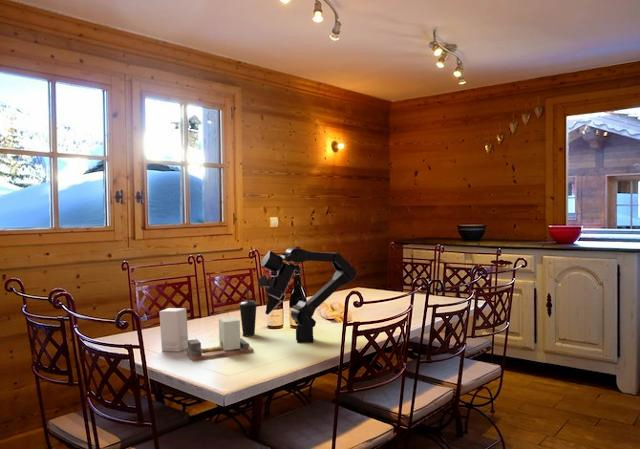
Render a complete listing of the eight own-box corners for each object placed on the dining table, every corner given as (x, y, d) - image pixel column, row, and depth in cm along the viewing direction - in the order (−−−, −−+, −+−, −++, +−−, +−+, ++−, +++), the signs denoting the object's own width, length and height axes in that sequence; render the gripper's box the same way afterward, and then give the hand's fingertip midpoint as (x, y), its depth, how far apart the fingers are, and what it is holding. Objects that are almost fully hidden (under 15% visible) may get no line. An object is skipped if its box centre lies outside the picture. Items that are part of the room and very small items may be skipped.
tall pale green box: (234, 344, 199) (234, 316, 198) (240, 348, 193) (239, 320, 192) (219, 346, 196) (218, 318, 196) (224, 350, 190) (223, 322, 190)
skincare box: (189, 348, 201) (187, 308, 200) (179, 352, 195) (177, 311, 194) (170, 346, 204) (169, 307, 203) (160, 351, 197) (158, 310, 197)
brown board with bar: (245, 345, 202) (244, 331, 202) (253, 352, 193) (253, 337, 193) (186, 354, 192) (186, 339, 192) (192, 361, 183) (192, 345, 183)
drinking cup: (254, 337, 215) (253, 289, 214) (237, 337, 217) (235, 289, 216) (260, 333, 223) (259, 286, 222) (243, 332, 224) (242, 286, 223)
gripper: (267, 271, 213) (251, 306, 210) (262, 265, 195) (244, 304, 192) (292, 282, 212) (276, 318, 209) (289, 277, 194) (271, 316, 191)
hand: (266, 314), depth 201 cm, fingers closed
